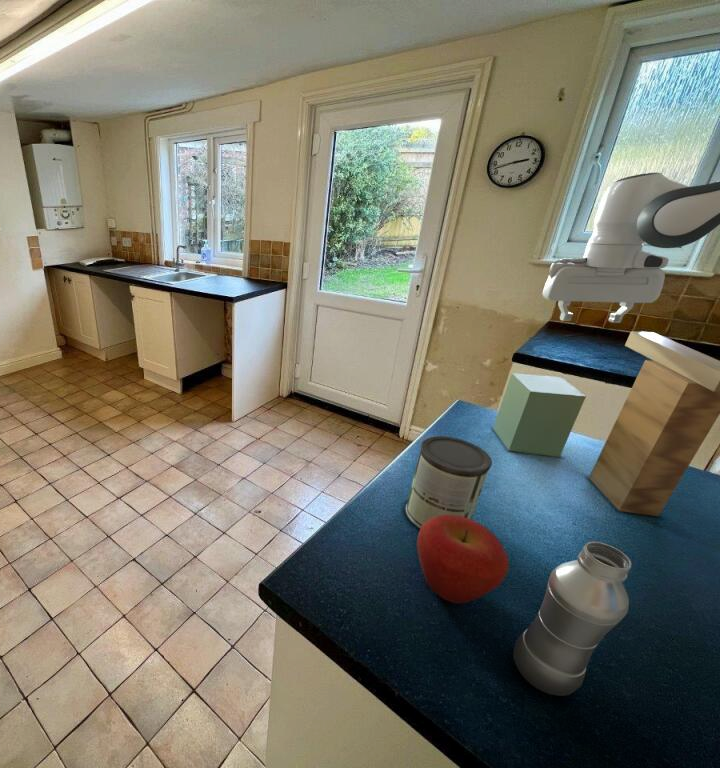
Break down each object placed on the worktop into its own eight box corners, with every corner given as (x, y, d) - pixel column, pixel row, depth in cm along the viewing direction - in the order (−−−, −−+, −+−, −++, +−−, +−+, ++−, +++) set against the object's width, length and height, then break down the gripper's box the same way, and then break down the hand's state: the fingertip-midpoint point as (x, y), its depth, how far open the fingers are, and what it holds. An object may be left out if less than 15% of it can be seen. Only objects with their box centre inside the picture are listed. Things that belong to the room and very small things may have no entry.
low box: (539, 433, 100) (561, 377, 94) (559, 457, 91) (586, 396, 85) (492, 428, 102) (511, 372, 96) (508, 450, 94) (530, 391, 87)
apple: (489, 641, 54) (519, 576, 49) (401, 602, 59) (419, 540, 54) (489, 579, 63) (514, 518, 58) (412, 550, 68) (428, 492, 63)
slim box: (646, 347, 80) (653, 332, 78) (743, 394, 61) (755, 376, 60) (624, 345, 80) (631, 330, 79) (713, 391, 62) (724, 373, 61)
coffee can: (400, 494, 80) (415, 432, 74) (459, 503, 78) (479, 439, 72) (410, 533, 71) (428, 465, 65) (476, 544, 69) (502, 475, 63)
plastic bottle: (495, 657, 52) (550, 539, 44) (534, 641, 54) (595, 525, 46) (546, 712, 47) (621, 590, 38) (588, 693, 49) (669, 572, 40)
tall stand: (623, 482, 83) (686, 363, 72) (658, 516, 75) (736, 386, 64) (588, 477, 85) (645, 359, 74) (618, 511, 76) (688, 382, 65)
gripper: (560, 259, 89) (542, 322, 94) (679, 259, 84) (653, 326, 89) (546, 256, 94) (530, 316, 100) (657, 256, 89) (633, 319, 95)
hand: (589, 321), depth 94 cm, fingers open, 8 cm apart
